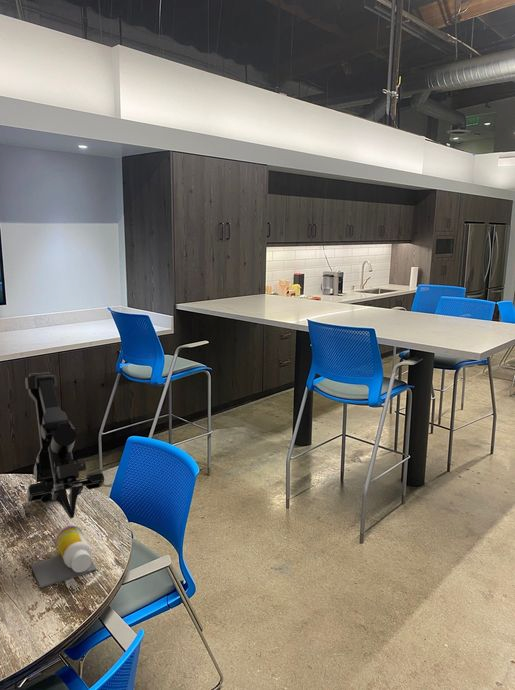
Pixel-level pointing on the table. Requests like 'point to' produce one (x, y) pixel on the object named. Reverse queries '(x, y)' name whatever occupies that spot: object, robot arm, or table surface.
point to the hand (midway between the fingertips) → (72, 517)
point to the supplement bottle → (74, 548)
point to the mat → (55, 571)
